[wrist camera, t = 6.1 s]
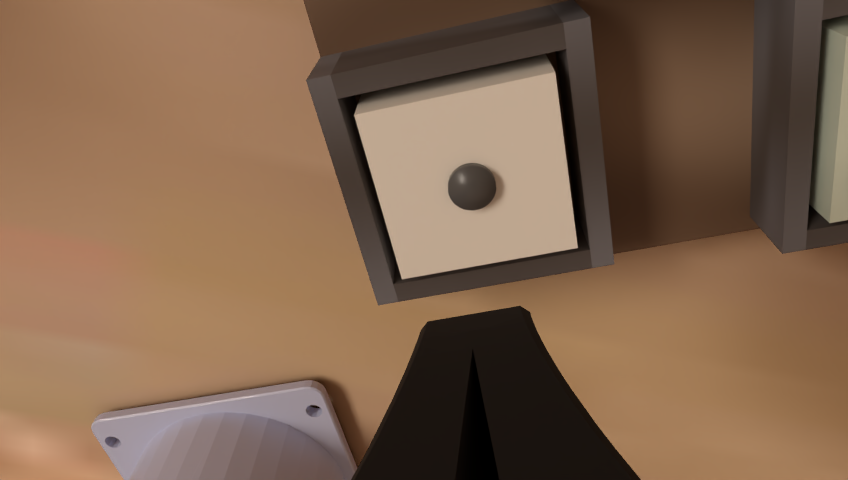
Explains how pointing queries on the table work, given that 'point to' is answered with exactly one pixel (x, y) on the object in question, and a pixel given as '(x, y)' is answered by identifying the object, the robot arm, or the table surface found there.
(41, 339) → the table surface
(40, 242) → the table surface
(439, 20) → the dark brown cabinet frame
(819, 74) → the tile three
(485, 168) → the tile one
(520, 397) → the robot arm
